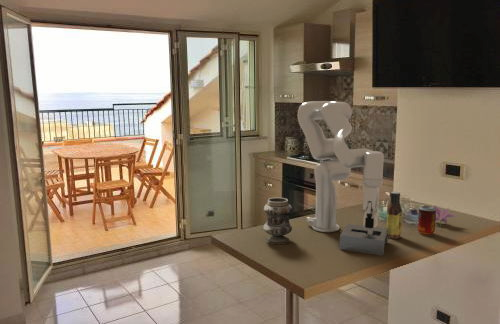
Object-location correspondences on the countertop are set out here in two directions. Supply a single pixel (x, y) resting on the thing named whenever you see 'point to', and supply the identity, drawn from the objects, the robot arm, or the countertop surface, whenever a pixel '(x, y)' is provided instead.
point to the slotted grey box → (363, 239)
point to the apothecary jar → (277, 220)
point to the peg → (375, 216)
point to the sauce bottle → (394, 216)
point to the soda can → (426, 220)
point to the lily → (443, 215)
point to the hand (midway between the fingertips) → (370, 225)
